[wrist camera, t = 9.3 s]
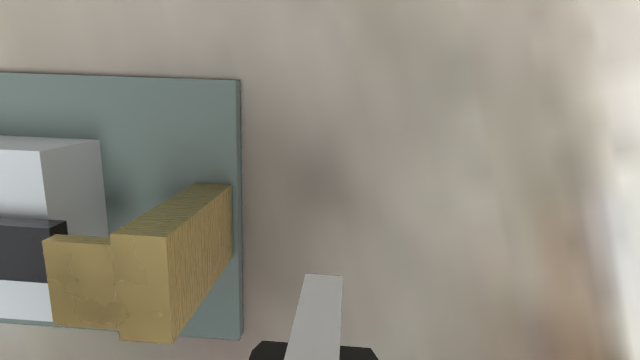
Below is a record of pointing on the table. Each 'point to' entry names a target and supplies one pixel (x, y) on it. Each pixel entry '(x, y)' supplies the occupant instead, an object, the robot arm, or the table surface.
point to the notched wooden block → (144, 267)
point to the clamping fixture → (117, 168)
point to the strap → (26, 247)
